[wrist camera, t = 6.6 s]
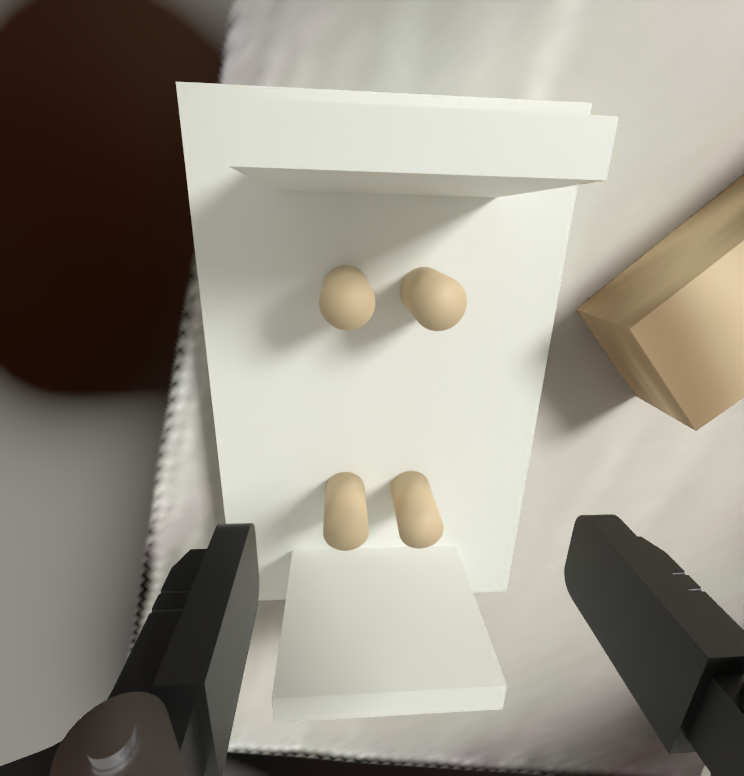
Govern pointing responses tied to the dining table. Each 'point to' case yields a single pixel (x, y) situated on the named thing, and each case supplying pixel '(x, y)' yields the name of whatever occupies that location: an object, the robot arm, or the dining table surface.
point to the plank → (681, 315)
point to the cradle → (380, 365)
